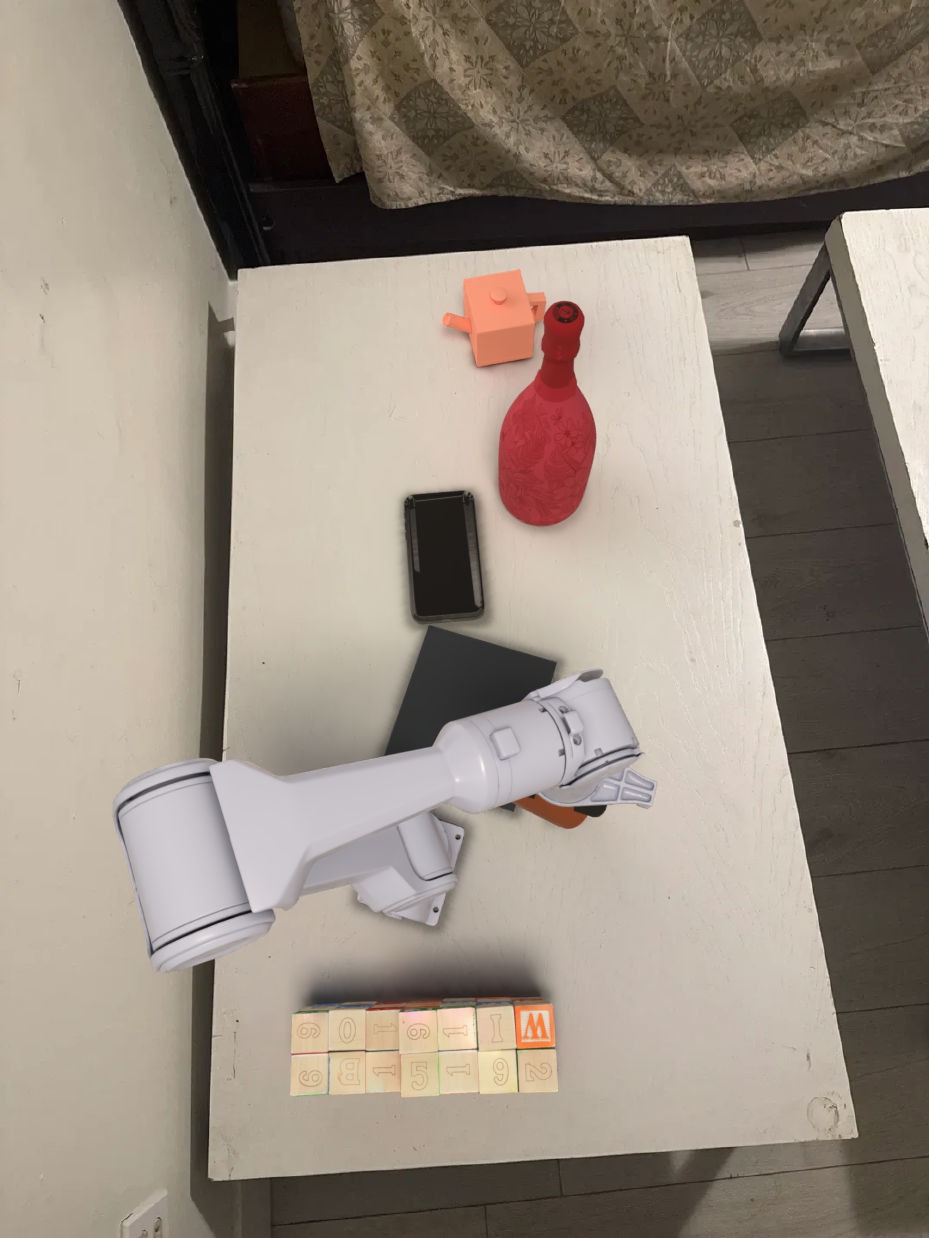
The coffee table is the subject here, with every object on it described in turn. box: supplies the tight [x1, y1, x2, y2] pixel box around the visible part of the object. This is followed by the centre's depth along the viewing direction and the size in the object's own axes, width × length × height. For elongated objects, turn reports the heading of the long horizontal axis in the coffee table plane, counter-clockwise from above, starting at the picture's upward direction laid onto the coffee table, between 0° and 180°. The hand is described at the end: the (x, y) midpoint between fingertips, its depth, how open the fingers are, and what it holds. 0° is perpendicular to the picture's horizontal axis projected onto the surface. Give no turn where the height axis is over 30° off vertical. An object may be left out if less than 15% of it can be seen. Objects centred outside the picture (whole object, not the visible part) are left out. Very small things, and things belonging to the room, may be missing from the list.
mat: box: [383, 624, 557, 812], centre depth 89 cm, size 16×14×1 cm
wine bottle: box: [497, 300, 597, 527], centre depth 84 cm, size 10×10×30 cm
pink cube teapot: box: [441, 268, 547, 368], centre depth 101 cm, size 8×12×8 cm, turn 101°
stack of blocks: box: [289, 996, 559, 1098], centre depth 73 cm, size 21×6×12 cm, turn 92°
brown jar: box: [511, 794, 588, 830], centre depth 81 cm, size 5×5×11 cm
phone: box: [403, 490, 485, 625], centre depth 95 cm, size 8×1×15 cm
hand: (557, 785), depth 78 cm, fingers open, 3 cm apart
